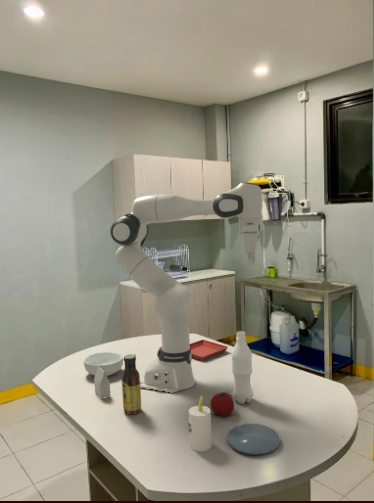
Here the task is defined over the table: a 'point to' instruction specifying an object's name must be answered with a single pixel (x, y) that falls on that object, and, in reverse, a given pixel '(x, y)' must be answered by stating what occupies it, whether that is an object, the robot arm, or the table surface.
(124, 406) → the sauce bottle
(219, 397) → the tomato
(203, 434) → the candle
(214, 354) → the plant saucer
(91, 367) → the cereal bowl
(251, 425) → the candle dish
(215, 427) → the table surface
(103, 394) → the small milk carton
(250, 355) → the water bottle
